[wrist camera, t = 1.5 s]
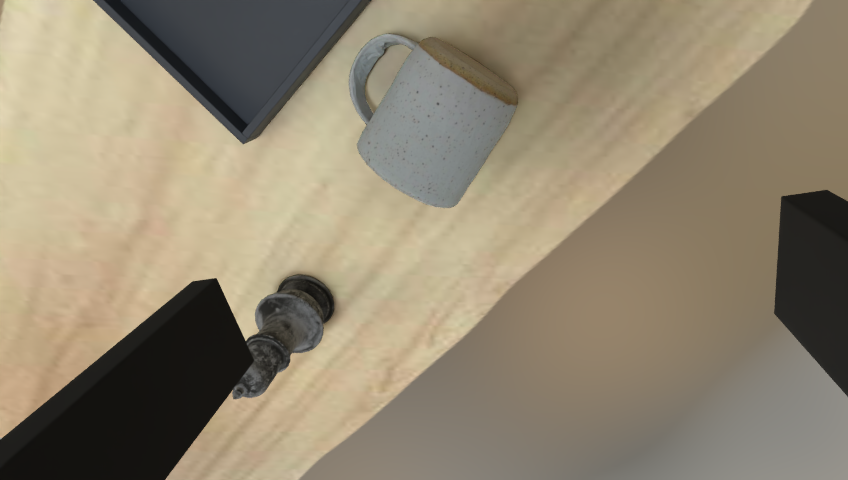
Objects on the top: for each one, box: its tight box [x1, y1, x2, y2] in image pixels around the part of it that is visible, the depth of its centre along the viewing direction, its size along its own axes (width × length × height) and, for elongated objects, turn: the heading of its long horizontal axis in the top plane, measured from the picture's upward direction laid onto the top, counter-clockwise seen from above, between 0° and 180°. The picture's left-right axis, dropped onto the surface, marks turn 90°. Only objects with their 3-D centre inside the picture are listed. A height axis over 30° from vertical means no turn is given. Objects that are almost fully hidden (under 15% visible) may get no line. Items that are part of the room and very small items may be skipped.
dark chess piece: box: [232, 275, 334, 399], centre depth 36 cm, size 6×6×12 cm
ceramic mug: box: [349, 34, 518, 208], centre depth 29 cm, size 11×8×8 cm
